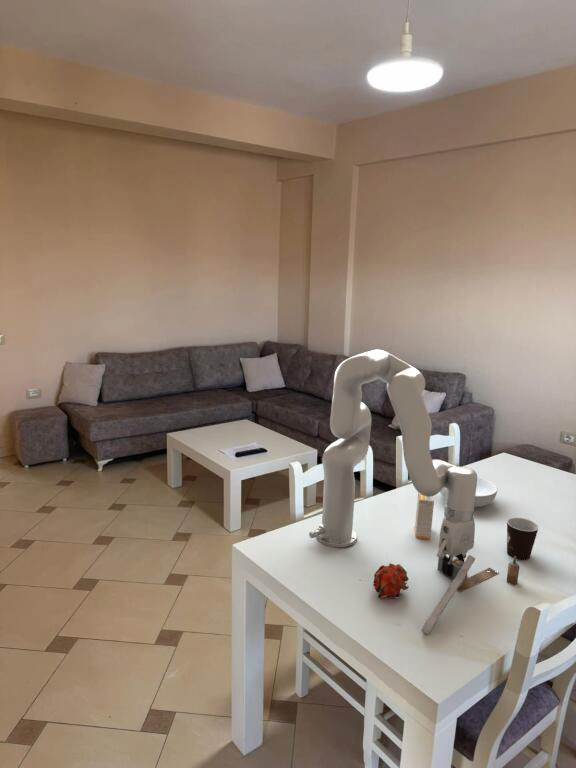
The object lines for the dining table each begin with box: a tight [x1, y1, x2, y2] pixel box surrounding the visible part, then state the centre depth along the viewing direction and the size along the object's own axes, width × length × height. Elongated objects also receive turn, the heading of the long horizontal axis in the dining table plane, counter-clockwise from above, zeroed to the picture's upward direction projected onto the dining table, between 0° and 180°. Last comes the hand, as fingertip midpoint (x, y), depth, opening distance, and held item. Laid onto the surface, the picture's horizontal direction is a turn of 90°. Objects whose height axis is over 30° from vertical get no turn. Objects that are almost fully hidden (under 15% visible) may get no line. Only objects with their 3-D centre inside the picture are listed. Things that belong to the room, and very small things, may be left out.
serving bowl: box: [439, 476, 499, 508], centre depth 197 cm, size 21×21×7 cm
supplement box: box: [414, 491, 435, 540], centre depth 172 cm, size 8×5×13 cm, turn 168°
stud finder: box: [437, 554, 468, 580], centre depth 151 cm, size 4×7×4 cm, turn 35°
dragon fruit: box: [372, 562, 409, 600], centre depth 140 cm, size 8×8×12 cm
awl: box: [506, 556, 521, 586], centre depth 147 cm, size 3×3×8 cm
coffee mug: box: [506, 517, 539, 561], centre depth 162 cm, size 12×9×10 cm
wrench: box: [421, 554, 476, 636], centre depth 136 cm, size 8×2×30 cm
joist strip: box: [456, 567, 498, 593], centre depth 149 cm, size 17×3×1 cm, turn 125°
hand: (452, 571), depth 151 cm, fingers closed on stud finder, 4 cm apart
